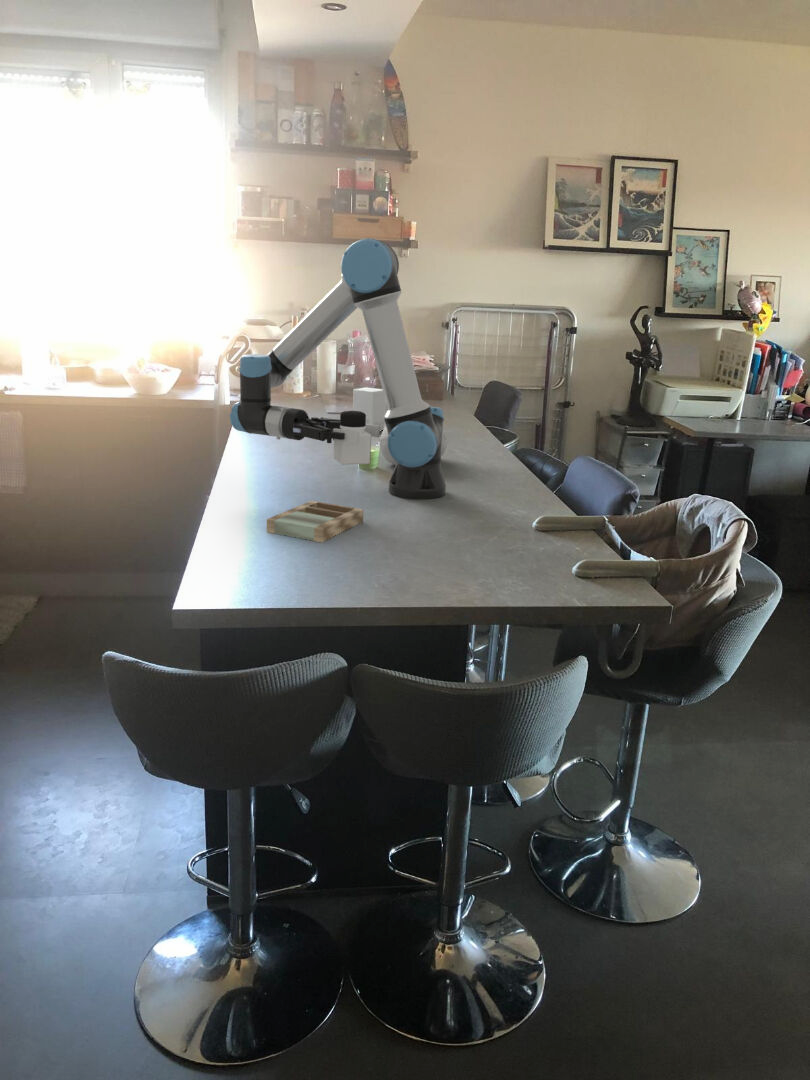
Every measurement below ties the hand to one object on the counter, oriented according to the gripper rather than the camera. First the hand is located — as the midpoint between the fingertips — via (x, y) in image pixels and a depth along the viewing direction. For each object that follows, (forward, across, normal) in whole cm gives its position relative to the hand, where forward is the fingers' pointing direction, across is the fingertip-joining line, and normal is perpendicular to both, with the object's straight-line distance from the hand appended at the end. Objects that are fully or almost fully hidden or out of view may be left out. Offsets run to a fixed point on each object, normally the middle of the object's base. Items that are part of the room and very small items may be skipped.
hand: (368, 434), depth 205 cm
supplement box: (-50, -98, -19) cm, 112 cm away
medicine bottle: (-4, 0, -7) cm, 8 cm away
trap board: (-4, +17, -19) cm, 26 cm away
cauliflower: (-15, -58, -19) cm, 63 cm away
